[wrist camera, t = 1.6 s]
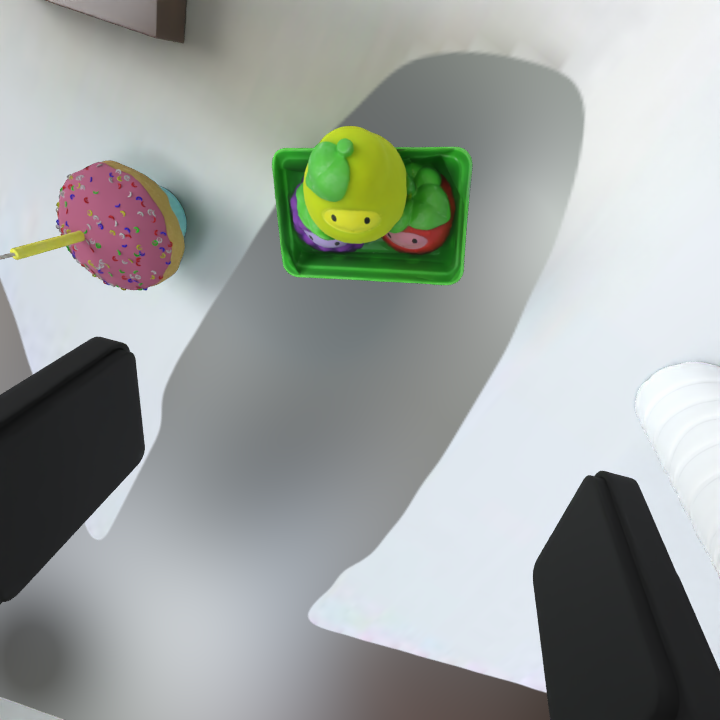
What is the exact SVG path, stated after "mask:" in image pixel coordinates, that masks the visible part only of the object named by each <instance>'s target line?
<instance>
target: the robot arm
mask: <svg viewBox="0 0 720 720" xmlns="http://www.w3.org/2000/svg"><path fill="white" fill-rule="evenodd" d="M144 451H145V444H144V435H143V426H142V416H141V407H140V398H139V388H138V379H137V370H136V360H135V356H134V354H133V353H131V352H130V350H129V348H128V346H127V345H126V344H124V343H121V342H118V341H114V340H110V339H106V338H103V337H94V338H92V339H90V340H88V341H87V342H85V343H83V344H82V345H80V346H79V347H77V348H75V349H74V350H72V351H71V352H69V353H67V354H66V355H64V356H62V357H61V358H59V359H58V360H56V361H54V362H53V363H51V364H50V365H48V366H46V367H45V368H43V369H41V370H40V371H38V372H37V373H35V374H33V375H32V376H30V377H28V378H27V379H25V380H24V381H22V382H20V383H19V384H17V385H16V386H14V387H12V388H11V389H9V390H7V391H6V392H4V393H3V394H1V395H0V604H1V603H2V602H6V601H9V600H11V599H12V598H14V597H15V596H16V595H17V594H18V593H19V592H20V591H21V590H22V589H23V588H24V587H25V586H26V585H27V584H28V583H29V582H30V580H32V578H33V577H34V576H35V575H36V574H37V573H38V572H39V571H40V570H41V569H42V568H43V567H44V566H45V564H46V563H47V562H48V561H49V560H50V559H51V558H52V557H53V556H54V555H55V553H56V552H57V551H58V550H59V549H60V548H61V547H62V546H63V545H64V544H65V543H66V542H67V541H68V540H69V539H70V537H71V536H72V535H73V534H74V533H75V532H76V531H77V530H78V529H79V528H80V527H81V526H82V524H83V523H84V522H85V521H86V520H87V519H88V518H89V517H90V516H91V515H92V514H93V513H94V512H95V510H96V509H97V508H98V507H99V506H100V505H101V504H102V503H103V502H104V501H105V500H106V499H107V498H108V496H109V495H110V494H111V493H112V492H113V491H114V490H115V489H116V488H117V487H118V486H119V485H120V483H121V482H122V481H123V480H124V479H125V478H126V477H127V476H128V475H129V474H130V473H131V472H132V471H133V469H134V468H135V467H136V466H137V465H138V464H139V463H140V461H141V459H142V457H143V455H144ZM533 585H534V593H535V601H536V609H537V617H538V625H539V633H540V641H541V649H542V657H543V665H544V673H545V681H546V689H547V697H548V705H549V713H550V720H720V671H719V668H718V666H717V664H716V661H715V659H714V657H713V654H712V652H711V650H710V647H709V645H708V643H707V640H706V638H705V636H704V634H703V631H702V629H701V627H700V624H699V622H698V620H697V617H696V615H695V613H694V610H693V608H692V606H691V604H690V601H689V599H688V597H687V594H686V592H685V590H684V587H683V585H682V583H681V580H680V578H679V576H678V575H677V573H676V571H675V568H674V566H673V564H672V561H671V559H670V557H669V554H668V552H667V550H666V547H665V545H664V543H663V541H662V538H661V536H660V534H659V531H658V529H657V527H656V524H655V522H654V520H653V517H652V515H651V513H650V510H649V508H648V506H647V503H646V501H645V499H644V496H643V494H642V492H641V490H640V487H639V485H638V483H637V482H636V481H635V480H634V479H632V478H628V477H624V476H621V475H617V474H613V473H609V472H606V471H599V472H598V473H597V474H596V475H595V476H591V475H588V476H587V477H585V479H584V480H583V482H582V483H581V485H580V487H579V488H578V490H577V492H576V494H575V495H574V497H573V499H572V500H571V502H570V504H569V506H568V507H567V509H566V511H565V512H564V514H563V516H562V518H561V519H560V521H559V523H558V524H557V526H556V528H555V530H554V531H553V533H552V535H551V536H550V538H549V540H548V541H547V543H546V545H545V547H544V548H543V550H542V552H541V553H540V555H539V557H538V559H537V560H536V563H535V566H534V570H533ZM0 720H64V719H61V718H58V717H56V716H53V715H50V714H47V713H44V712H41V711H39V710H36V709H33V708H30V707H27V706H25V705H22V704H19V703H16V702H13V701H11V700H8V699H5V698H2V697H0Z"/></svg>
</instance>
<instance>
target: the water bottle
mask: <svg viewBox="0 0 720 720" xmlns="http://www.w3.org/2000/svg"><path fill="white" fill-rule="evenodd" d="M635 411H636V415H637V417H638V420H639V422H640V423H641V426H642V428H643V430H644V432H645V433H646V435H647V436H648V439H649V442H650V444H651V446H652V447H653V449H654V451H655V452H656V454H657V455H658V459H659V461H660V463H661V465H662V467H663V469H664V471H665V472H666V473H667V475H668V476H669V481H670V483H671V485H672V487H673V489H674V490H675V492H676V493H677V494H678V496H679V500H680V503H681V505H682V507H683V509H684V511H685V512H686V514H687V515H688V517H689V518H690V520H691V521H692V525H693V528H694V531H695V533H696V535H697V537H698V539H699V540H700V542H701V544H702V545H703V547H704V549H705V551H706V552H707V554H708V555H709V557H710V558H711V562H712V565H713V566H714V568H715V569H716V571H717V572H718V576H719V578H720V367H719V366H716V365H710V364H708V363H704V362H684V363H680V364H679V365H671V366H668V367H666V368H663V369H661V370H660V371H658V372H656V373H655V374H653V375H652V376H651V377H650V379H649V380H647V381H645V382H644V383H643V384H642V386H641V387H640V389H639V391H638V393H637V395H636V402H635Z"/></svg>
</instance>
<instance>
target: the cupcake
mask: <svg viewBox="0 0 720 720" xmlns="http://www.w3.org/2000/svg"><path fill="white" fill-rule="evenodd" d="M67 178H68V179H67V180H66V182H65V183H64V185H63V188H61V189H60V195H59V202H58V203H57V204H56V206H58V207H57V208H56V212H57V215H58V220H57V221H56V222H57V225H56V228H57V229H59V232H61V236H57V237H53V238H50V239H46V240H42V241H38V242H35V243H31V244H27V245H23V246H19V247H16V248H12V249H11V250H10V253H9V254H5V255H1V256H0V259H5V258H9V257H13V258H14V259H16V260H19V259H22V258H26V257H29V256H33V255H36V254H40V253H43V252H47V251H50V250H54V249H57V248H61V247H64V246H66V247H67V248H68V251H69V252H70V253H71V254H72V256H73V258H74V259H76V261H77V262H78V263H80V264H81V265H82V267H85V268H86V269H87V270H88V271H89V272H91V273H92V274H93V275H92V276H93V277H98V278H99V279H101V280H103V283H104V284H107V285H111V286H113V287H115V286H117V287H121V289H122V288H123V289H122V290H126V289H130V290H142V289H143V290H147V288H148V287H150V286H154V285H157V284H159V283H161V282H163V281H164V280H166V279H167V278H169V277H170V276H172V275H173V274H174V273H175V272H176V271H177V270H178V268H179V264H180V261H181V259H182V256H183V253H184V249H185V244H184V236H185V233H186V227H187V222H186V216H185V213H184V210H183V208H182V206H181V204H180V203H179V201H178V200H177V198H176V197H175V196H174V195H173V194H172V193H171V192H169V191H168V190H167V189H165V188H163V187H161V186H158V185H157V184H156V183H155V182H154V181H153V180H151V179H150V178H148V177H147V176H145V175H144V174H142V173H140V172H138V171H136V170H134V169H132V168H129V167H127V166H125V165H122V164H120V163H118V162H115V161H103V162H97V163H94V164H92V165H90V166H87V167H86V168H84V169H83V170H81V171H78V172H75V173H73V174H72V175H71V174H70V175H68V176H67ZM57 209H58V210H57ZM58 225H59V226H58ZM58 227H59V228H58ZM60 230H61V231H60ZM94 275H95V276H94ZM105 282H106V283H105ZM108 283H109V284H108ZM124 288H125V289H124Z"/></svg>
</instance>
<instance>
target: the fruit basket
mask: <svg viewBox="0 0 720 720" xmlns="http://www.w3.org/2000/svg"><path fill="white" fill-rule="evenodd" d="M272 170H273V178H274V189H275V199H276V208H277V217H278V227H279V234H280V245H281V254H282V261H283V266H284V268H285V270H286V271H287V272H288V273H289V274H291V275H293V276H295V277H308V278H327V279H333V278H334V279H348V280H364V281H365V280H366V281H381V282H403V283H404V282H405V283H421V284H433V285H451V284H454V283H456V282H458V281H459V280H460V279H461V277H462V275H463V272H464V256H465V243H466V229H467V218H468V217H467V216H468V206H469V196H470V186H471V175H472V159H471V157H470V155H469V153H468V152H467V151H466V150H465V149H463V148H460V147H411V148H410V147H409V148H408V147H402V148H401V147H397V148H395V147H393V145H392V144H391V143H390V142H388V141H387V140H386V139H384V138H383V137H381V136H379V135H377V134H374V133H371V132H369V131H368V130H366V129H363V128H360V127H356V126H345V127H340V128H338V129H335V130H333V131H331V132H330V133H328V134H327V135H326V136H325V137H324V138H323V139H322V140H321V141H320V143H319V144H317V145H316V146H315V147H314V148H283V149H280V150H278V151H277V152H276V153H275V155H274V157H273V160H272Z"/></svg>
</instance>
